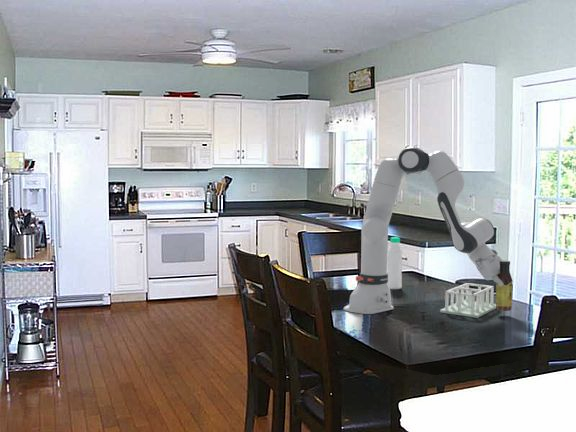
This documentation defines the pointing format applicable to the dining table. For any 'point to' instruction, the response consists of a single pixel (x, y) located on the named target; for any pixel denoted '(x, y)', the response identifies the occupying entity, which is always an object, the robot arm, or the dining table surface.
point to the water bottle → (394, 264)
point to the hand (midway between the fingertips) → (506, 284)
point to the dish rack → (469, 301)
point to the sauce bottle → (504, 287)
